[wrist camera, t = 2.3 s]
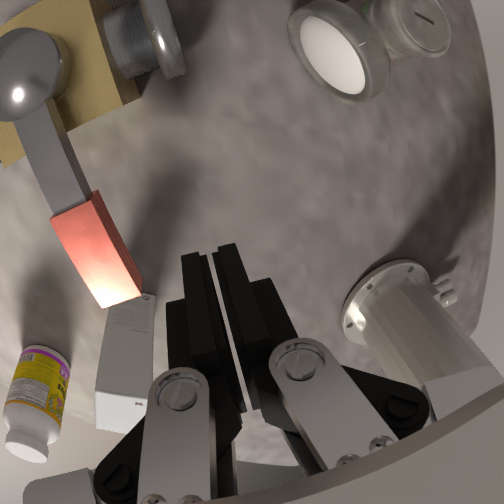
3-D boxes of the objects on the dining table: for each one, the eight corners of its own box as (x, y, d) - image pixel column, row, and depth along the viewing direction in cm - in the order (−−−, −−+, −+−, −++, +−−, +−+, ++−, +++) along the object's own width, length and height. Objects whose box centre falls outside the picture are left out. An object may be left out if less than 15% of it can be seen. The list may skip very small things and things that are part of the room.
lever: (-11, 60, 10) (-32, 61, 8) (58, 16, 10) (42, 9, 9) (94, 291, 19) (88, 314, 17) (158, 268, 19) (157, 290, 17)
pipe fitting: (324, 110, 24) (409, 112, 15) (269, 28, 20) (332, -19, 11) (413, 54, 23) (498, 48, 14) (371, -17, 20) (449, -49, 11)
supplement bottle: (67, 384, 34) (55, 472, 23) (21, 367, 31) (-1, 453, 20) (75, 354, 32) (58, 452, 21) (23, 334, 29) (-8, 428, 18)
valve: (159, -11, 17) (151, -49, 10) (188, 80, 21) (192, 79, 14) (-13, 78, 16) (-71, 88, 9) (16, 160, 20) (-33, 194, 14)
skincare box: (112, 284, 28) (93, 388, 18) (156, 294, 30) (155, 399, 20) (106, 330, 31) (93, 429, 21) (145, 338, 32) (144, 437, 22)
